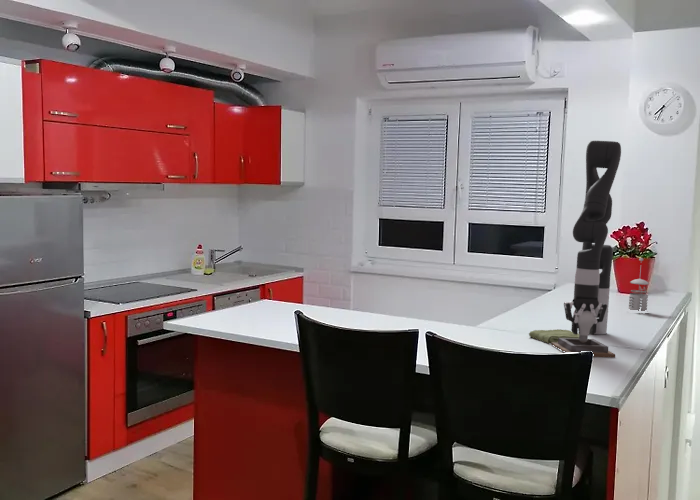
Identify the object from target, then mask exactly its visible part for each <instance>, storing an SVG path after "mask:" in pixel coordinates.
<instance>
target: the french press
mask: <svg viewBox="0 0 700 500" xmlns="http://www.w3.org/2000/svg"><path fill="white" fill-rule="evenodd" d="M638 261H640V262H643V261H644V257H639V259H638ZM639 268H640V269H639V271H640V272H639V276H641V273H642V266H640V267H639ZM629 283H630V284H634V285H638V290H637V289H631V290H630V292H631V293H629V296H628V297H629V299H628V300H629V301H628V309H630V310H638V311H639V309H640V308H641V311H645V310H647V311H648V301H649V300H648V298H649V295H648V294H647V293H648V291H647V290H646V287H645V286H646V285H649V284H650V283H649V281H647V280H645V279H642V278H637V279H636V278H635V279H633V280H631V281H629ZM640 285H642V286H643V285H644V286H643V288H641V286H640Z"/></svg>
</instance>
